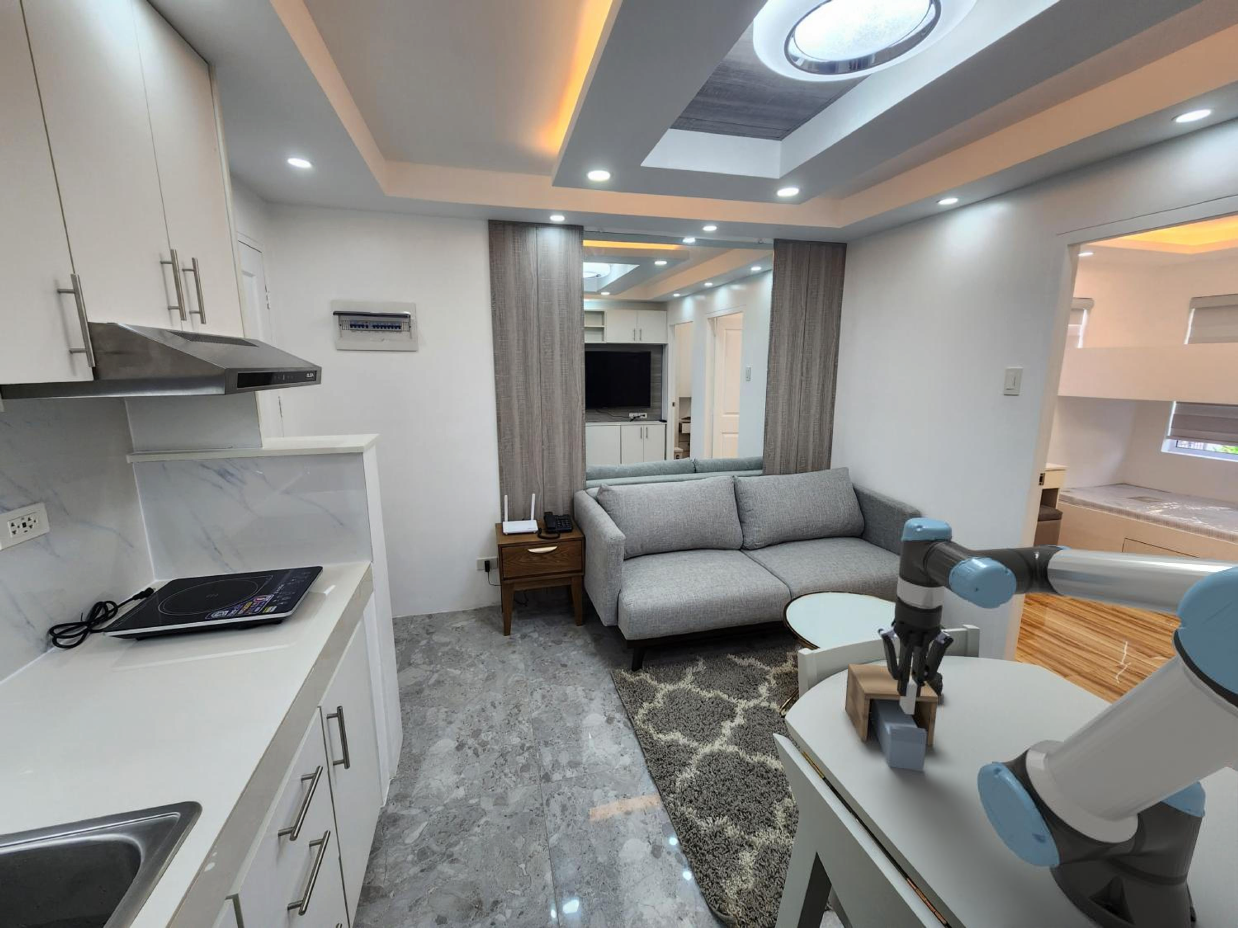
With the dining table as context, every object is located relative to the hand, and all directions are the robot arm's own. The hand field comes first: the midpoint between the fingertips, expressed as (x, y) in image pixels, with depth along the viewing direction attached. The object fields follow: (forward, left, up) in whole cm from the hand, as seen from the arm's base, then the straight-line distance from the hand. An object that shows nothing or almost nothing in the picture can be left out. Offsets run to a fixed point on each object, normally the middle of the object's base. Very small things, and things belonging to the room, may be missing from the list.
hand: (906, 709), depth 97 cm
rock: (+19, -11, -10) cm, 24 cm away
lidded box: (+3, 0, -10) cm, 11 cm away
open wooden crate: (+8, 0, -10) cm, 13 cm away
